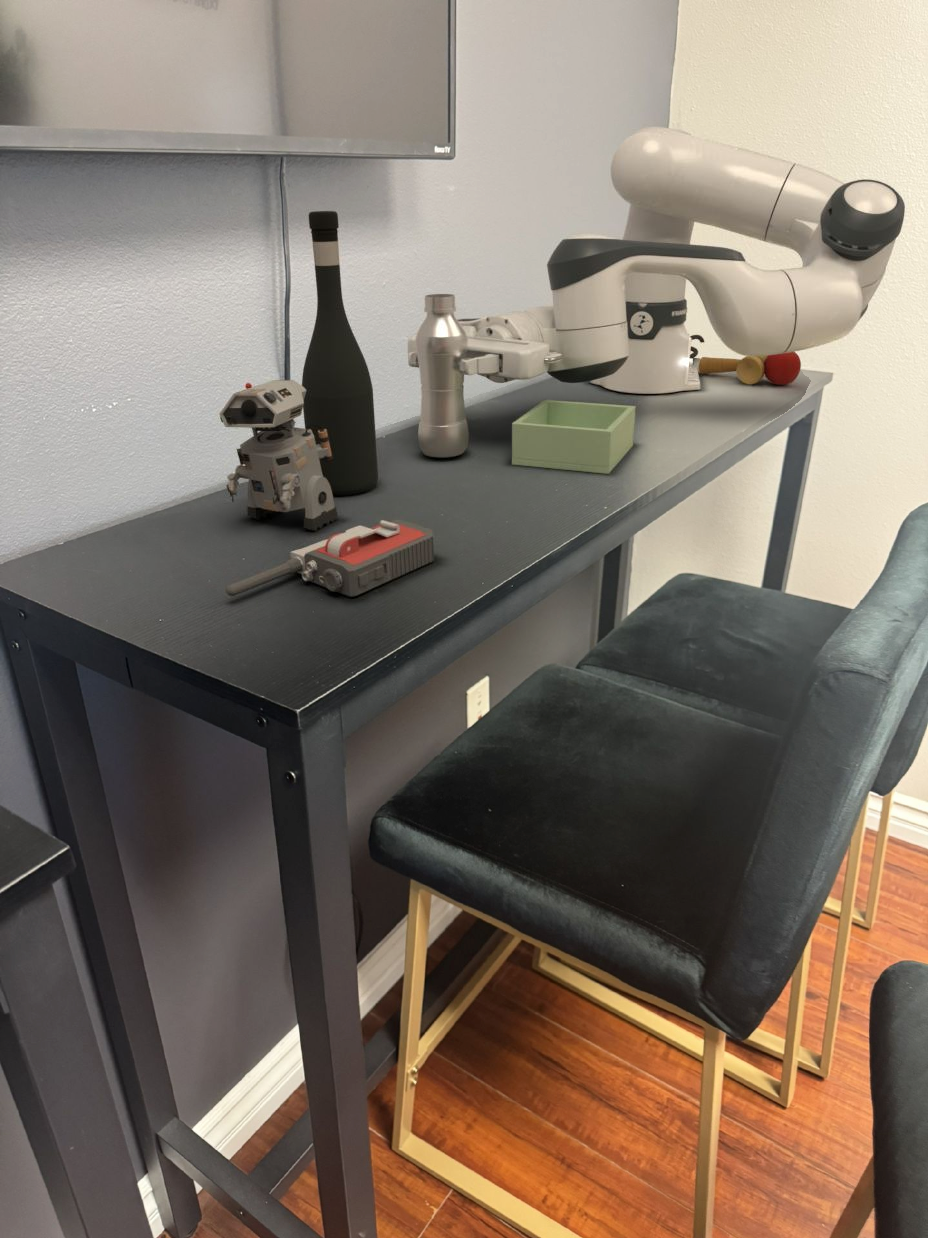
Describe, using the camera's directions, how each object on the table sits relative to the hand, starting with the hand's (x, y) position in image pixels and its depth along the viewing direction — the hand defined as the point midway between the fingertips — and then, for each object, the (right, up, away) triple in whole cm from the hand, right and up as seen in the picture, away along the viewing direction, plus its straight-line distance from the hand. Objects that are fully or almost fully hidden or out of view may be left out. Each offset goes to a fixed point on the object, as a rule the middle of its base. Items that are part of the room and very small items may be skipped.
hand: (437, 363), depth 112 cm
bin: (+18, -10, +5) cm, 21 cm away
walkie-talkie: (-8, -28, -29) cm, 42 cm away
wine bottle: (-11, -16, -5) cm, 20 cm away
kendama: (+53, +10, +45) cm, 70 cm away
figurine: (-16, -22, -17) cm, 32 cm away
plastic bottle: (+1, -11, +6) cm, 12 cm away
